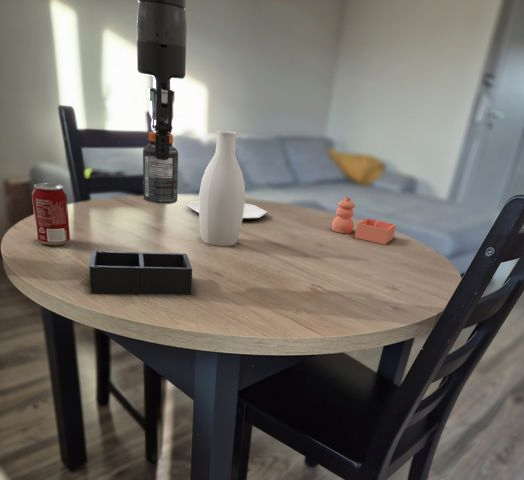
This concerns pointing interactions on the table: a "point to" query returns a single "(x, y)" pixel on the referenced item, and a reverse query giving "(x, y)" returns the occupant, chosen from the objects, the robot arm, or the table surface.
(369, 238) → the pottery
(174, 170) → the pill bottle
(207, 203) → the bottle
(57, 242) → the soda can
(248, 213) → the plate
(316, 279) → the table surface
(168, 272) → the bottle rack
